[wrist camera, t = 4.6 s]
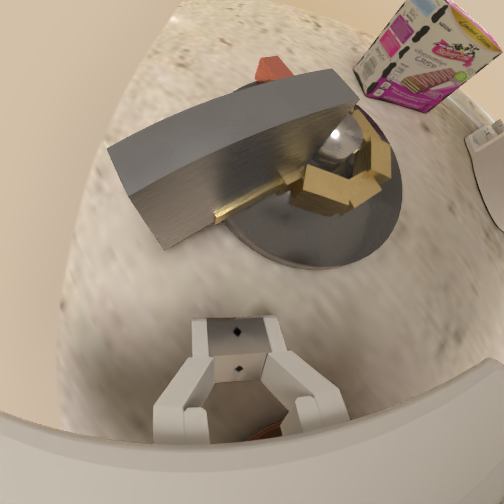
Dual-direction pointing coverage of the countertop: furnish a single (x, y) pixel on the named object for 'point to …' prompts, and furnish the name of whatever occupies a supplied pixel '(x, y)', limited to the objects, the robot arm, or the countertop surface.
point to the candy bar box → (425, 54)
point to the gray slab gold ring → (248, 156)
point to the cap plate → (312, 224)
